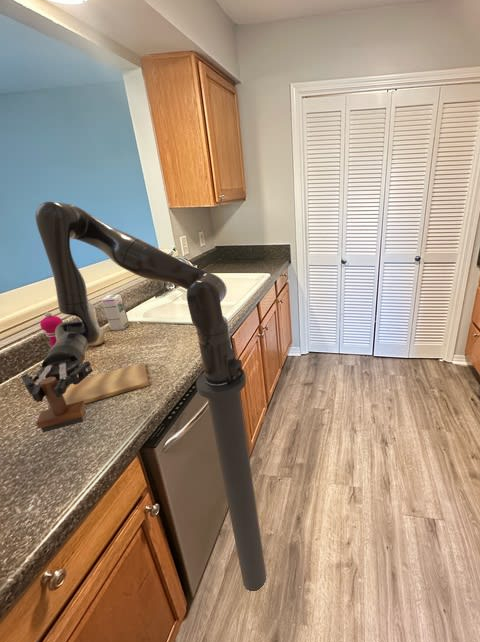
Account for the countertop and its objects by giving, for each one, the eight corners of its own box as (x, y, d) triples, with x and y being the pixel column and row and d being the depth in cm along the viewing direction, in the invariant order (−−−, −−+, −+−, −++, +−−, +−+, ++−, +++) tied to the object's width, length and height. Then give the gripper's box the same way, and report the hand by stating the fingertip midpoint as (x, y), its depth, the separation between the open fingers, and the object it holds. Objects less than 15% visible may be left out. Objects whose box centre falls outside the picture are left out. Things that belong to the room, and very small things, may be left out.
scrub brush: (87, 411, 75) (72, 370, 70) (84, 422, 71) (68, 380, 67) (46, 422, 72) (27, 380, 68) (41, 434, 68) (20, 390, 64)
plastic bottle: (87, 349, 124) (70, 300, 117) (87, 343, 130) (71, 296, 122) (106, 344, 127) (91, 296, 120) (105, 338, 133) (90, 292, 125)
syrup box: (124, 329, 141) (115, 298, 135) (110, 330, 141) (100, 299, 135) (129, 324, 146) (121, 293, 140) (116, 325, 146) (107, 294, 140)
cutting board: (144, 365, 111) (144, 362, 111) (149, 385, 100) (148, 381, 99) (61, 387, 101) (60, 384, 100) (55, 412, 89) (54, 408, 89)
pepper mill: (82, 358, 118) (64, 307, 110) (73, 369, 111) (53, 315, 103) (61, 361, 117) (41, 309, 109) (50, 371, 110) (28, 317, 102)
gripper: (25, 351, 76) (-4, 390, 61) (93, 338, 81) (81, 371, 66) (37, 378, 79) (12, 421, 64) (101, 364, 84) (92, 401, 69)
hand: (47, 395), depth 66 cm, fingers closed on scrub brush, 3 cm apart
